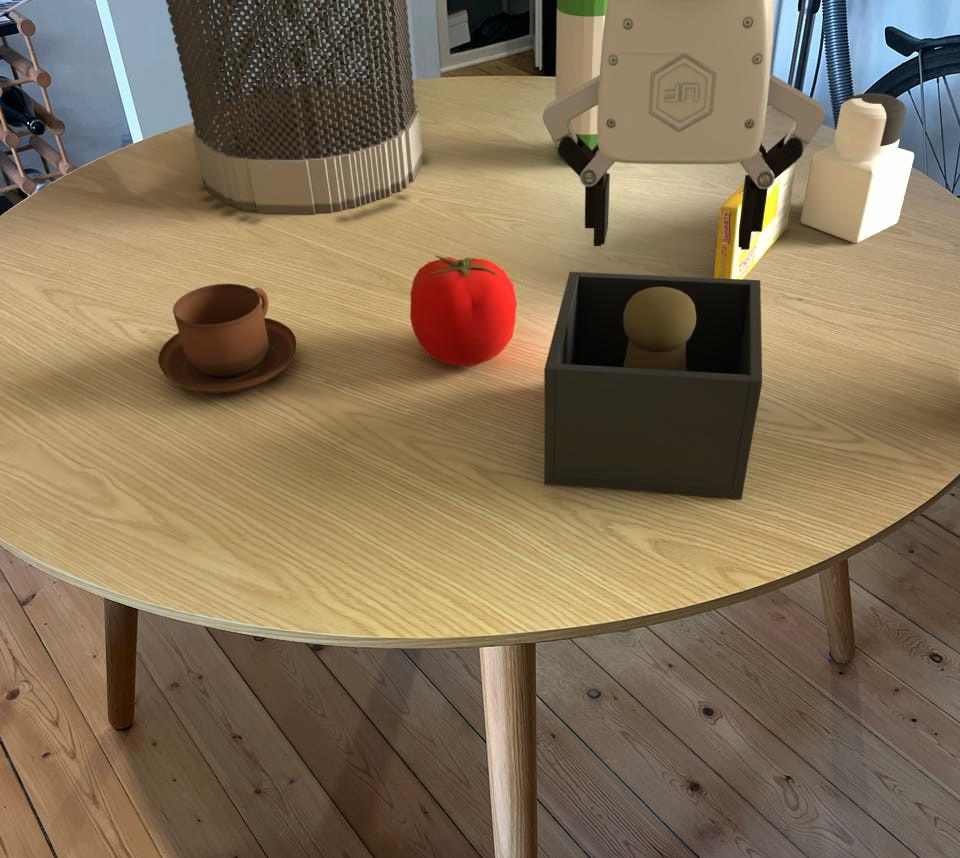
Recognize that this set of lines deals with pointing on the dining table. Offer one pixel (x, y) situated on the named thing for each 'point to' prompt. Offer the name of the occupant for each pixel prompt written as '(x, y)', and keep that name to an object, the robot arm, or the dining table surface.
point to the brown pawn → (658, 329)
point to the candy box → (738, 261)
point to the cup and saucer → (225, 340)
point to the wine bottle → (579, 56)
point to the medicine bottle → (860, 171)
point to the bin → (653, 391)
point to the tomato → (462, 310)
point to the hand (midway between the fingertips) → (671, 239)
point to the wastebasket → (300, 102)
